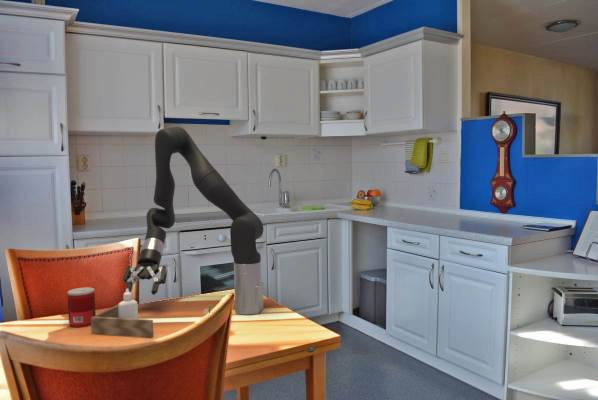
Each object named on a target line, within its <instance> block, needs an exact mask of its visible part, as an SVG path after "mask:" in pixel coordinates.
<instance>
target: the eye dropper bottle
mask: <svg viewBox="0 0 598 400" xmlns="http://www.w3.org/2000/svg"><path fill="white" fill-rule="evenodd" d="M125 289H126V288H125ZM132 296H133V295H132V291H131V292H129V289H126V291H125V292H124V293H123V294H122V297H123V300H122V301H120V302H119V303H118V304H117V305H118V315H119V318H129V319H139V312H138V311H139V309H138V301H136V300H135V299H133V297H132Z"/></svg>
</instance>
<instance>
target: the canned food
mask: <svg viewBox="0 0 598 400" xmlns="http://www.w3.org/2000/svg"><path fill="white" fill-rule="evenodd" d="M95 293H96V292H95V288H93V287H88V286H86V287H78V288H77V287H76V288H72V289H70V290H68V291H67V310H68V313H67V315H68V324H69V326H70V327H72V328H84V327H89V326H91V317H93V316H95V315H97V314H96V294H95Z"/></svg>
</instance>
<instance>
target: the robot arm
mask: <svg viewBox="0 0 598 400" xmlns="http://www.w3.org/2000/svg"><path fill="white" fill-rule="evenodd" d="M177 153H179V154H180V155H181V156H182V157H183V158H184V160H185V161H186V162H187V165H188V166H189V169H190V174H191V178H192V182H193V185H194V187H195V188H197V190H198V191H199V192H200V194H201V195H202V196H203V197H204V198H205V199H206V200H207V201H209V202H210V203H211V204H213V205H214V206H215V207H217V208H218V209H220V210H221V211H223V212H224V213H225V214H226V215H227V216H228V217H229V218H230V219H231V221H232V222H231V225H230V229H229V231H230V232H229V233H230V234H229V236H230V250H231V255H232V257H233V280H234V282H233V285H234V287H233V288H234V312H235V313H236V314H238V315H246V316H247V315H258V314H260V313H261V312H262V311H263V310H264V282H263V281H262V266H261V265H262V261H261V259H262V258H261V253H260V252H259V251H258V250H257V240H259V238H261V237H262V236H263V233H264V224H263V222H262V220H261V219H260V217H258V215H257V214H255V212H254V211H252V210H251V209H250V208H249V206H247V205H246V204H245V203H244V202H243V201H242V200H241V198H240V197H239V196H238V195H237V193H236V192H235V191H234V190H233V188H232V187H231V186H230V185H229V184H228V183H227V181H226V180H225V179H224V177H223V176H222V175H221V174H220V172H218V171H217V169H216V168H215V167H214V166H213V165H212V164H211V163H210V161H209V160H208V159H207V158H206V157H205V155H204V153H202V151H201V150H200V149H199V146H197V144H196V143H195V141H194V139H192V137H191V135H190V134H189V133H188V131H186V129H184V128H183V127H180V126H171V127H165V128H161V129H160V130H158V131H157V132H156V135H155V138H154V154H155V155H154V157H155V158H154V159H155V185H154V193H153V195H154V196H153V202H154V204H155V205H157V206H159V207H161V208H157V207H152V208H150V209H149V210H148V211H147V212H146V215H145V216H146V232H145V233H146V234H145V239H144V241H143V244H142V245H141V249H140V253H139V257H138V258H137V259H138V260H137V264H136V266H135V267H133V266H131V265H127V266H126V269H125V272H124V275H123V277H122V280H123V283H124V284H125V285H126V287H125V292H126V289H129V292H131V293H132V290H133V285H134V284H135V283H138V282H139V281H141V280H143V281H144V280H151V279H152V280H153V284H152V288H151V291H150V292H151V294H152V295H153V296H154V295H156V294H157V293H158V290H159V287H160V285H161V284H162V285H165V284H166V281H167V274H168V268H167V266H166V265H162V266H161V267H160V265H161V260H162V258H163V257H162V256H163V253H164V245H165V242H166V237H167V232H166V231H165V229H170V228H173V226H174V225H175V222H176V215H175V210H174V196H175V188H176V183H175V179H174V176H173V173H172V170H171V165H170V164H171V159H172V155H173V154H177ZM158 273H160V278H158V277H157V274H158Z"/></svg>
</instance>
